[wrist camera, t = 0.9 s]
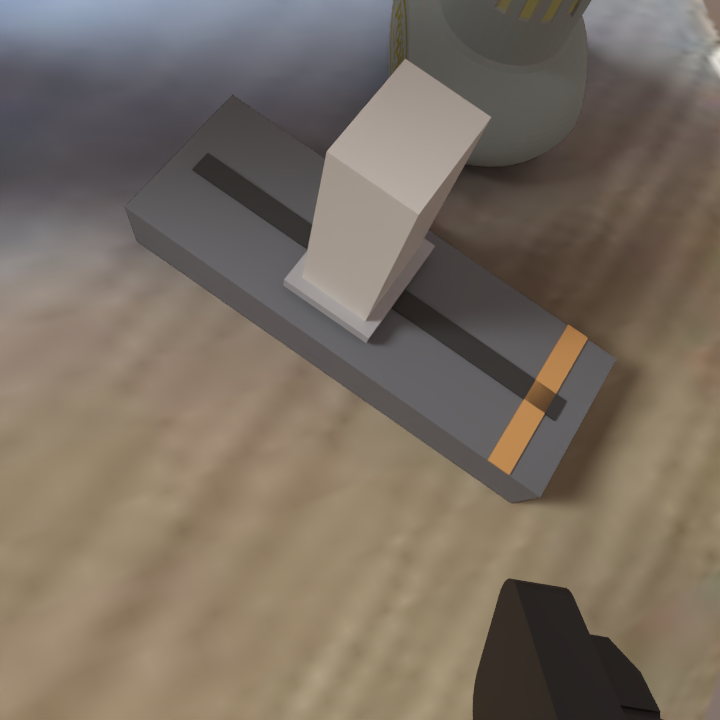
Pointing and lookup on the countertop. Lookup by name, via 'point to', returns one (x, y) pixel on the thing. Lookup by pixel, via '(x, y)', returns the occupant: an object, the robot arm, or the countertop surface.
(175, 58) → the countertop surface
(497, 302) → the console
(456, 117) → the fader tab
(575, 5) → the air freshener
